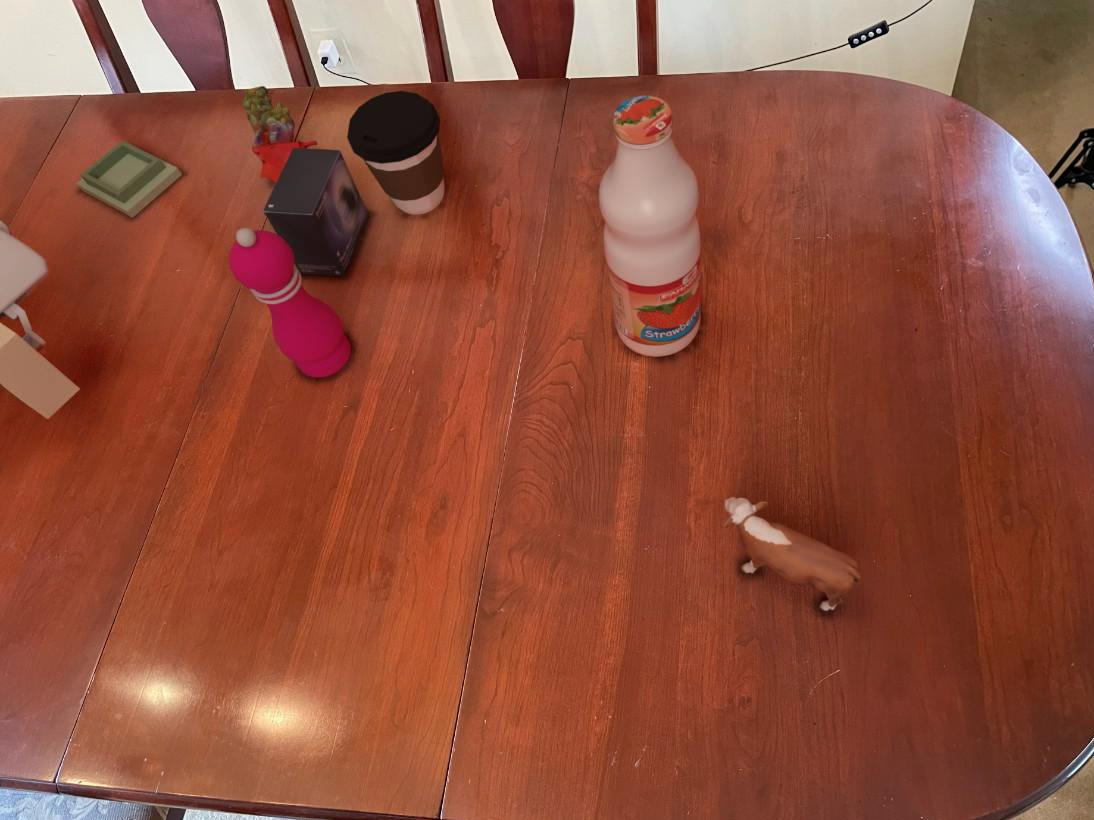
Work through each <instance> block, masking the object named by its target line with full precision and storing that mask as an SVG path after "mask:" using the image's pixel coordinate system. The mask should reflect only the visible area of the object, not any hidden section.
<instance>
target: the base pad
mask: <svg viewBox="0 0 1094 820" xmlns="http://www.w3.org/2000/svg"><path fill="white" fill-rule="evenodd" d="M79 176H80V177H81V179H80V180H79V181H77V182H76V183H75V184H76V185H77V186H78V188H79V189H80V190H81V191H83V192H84V193H85V194H88V195H89V196H92V197H94V198H95V199H97V200H99V201H100V202H103V203H104V204H106V205H107V206H110V207H111V208H113V209H115V210H117V211H118V212H121V213H123V214H125V215H126V216H128V217H129V218H131V219H133V218H135V216H137V215H138V214H139V213H140V212H141V211H142V210H144V209H145V208H146V207H147V206H148V205H149V204H151V203H152V202H153V201H154V200H156V198H158V196H160V195H161V194H162V193H163V192H164V191H165V190H166V189H168V188H169V187H170V186H171V185H172V184H173V183H175V182H176V181H177V180H178V179H180V177H181V176H183V174H182V172H181V170H180V169H179V168H178V167H177V166H175V165H173V164H171V163H170V162H167V161H165V160H163V159H161V158H160V157H157V156H156V155H153V154H150V153H149V152H147V151H145V150H143V149H141V148H139V147H137V146H135V145H133V144H131V143H129V142H127V141H125V140H121V141H120V142H118V143H117V144H116V145H115V146H114V147H112V148H111V149H110V150H108V152H106V153H105V154H104V155H103V156H102V157H100V158H99V159H98V160H97V161H96V162H94V163H92V165H90V166H89V167H88V168H86V169H85V170H84V171H83V172H82V173H81V174H79Z"/></svg>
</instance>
